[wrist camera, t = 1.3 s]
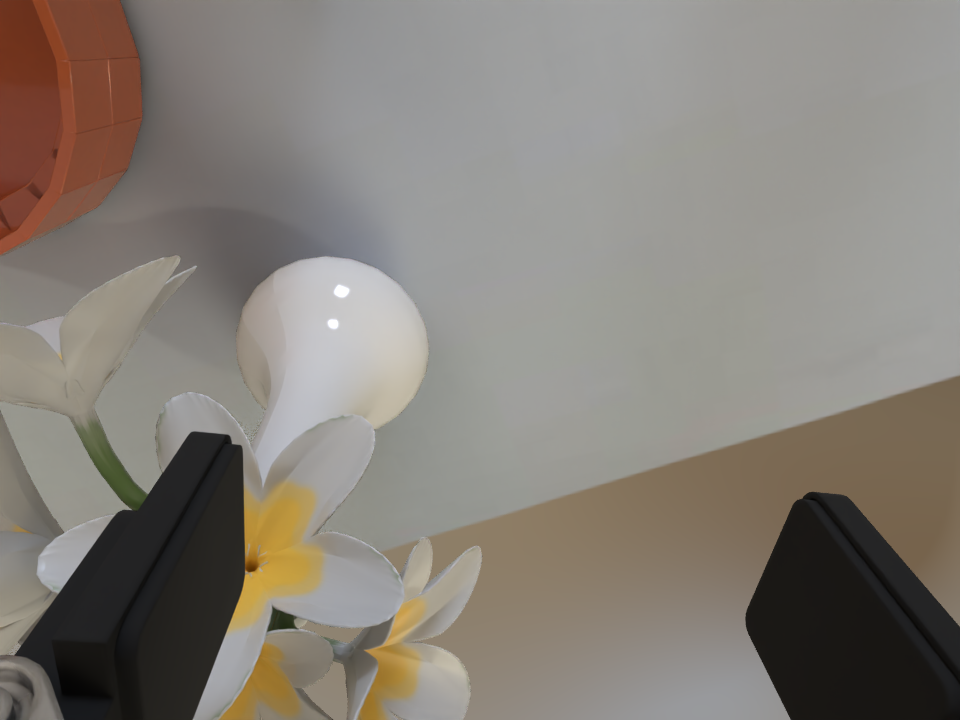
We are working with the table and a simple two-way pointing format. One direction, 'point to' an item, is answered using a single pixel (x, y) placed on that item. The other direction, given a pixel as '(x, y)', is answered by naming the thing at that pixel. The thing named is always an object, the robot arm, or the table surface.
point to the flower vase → (258, 486)
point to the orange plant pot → (63, 112)
